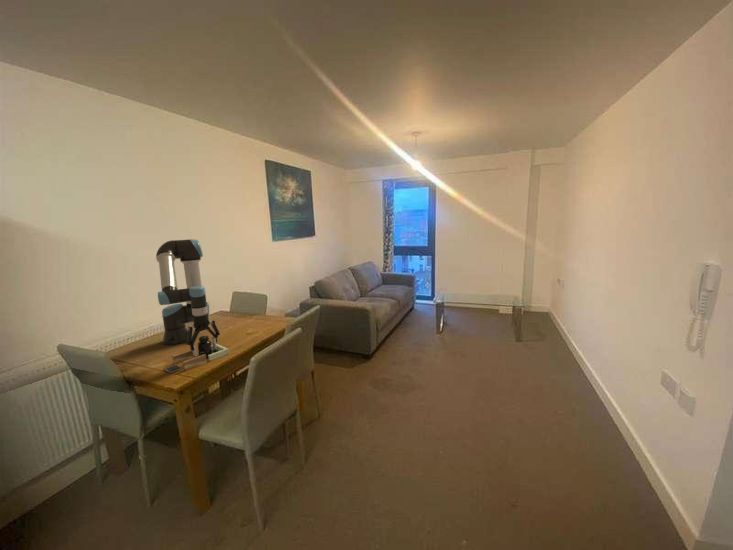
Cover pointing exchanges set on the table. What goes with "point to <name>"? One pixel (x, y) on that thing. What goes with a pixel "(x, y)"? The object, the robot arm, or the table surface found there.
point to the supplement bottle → (204, 346)
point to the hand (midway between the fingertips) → (205, 351)
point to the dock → (220, 353)
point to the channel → (189, 363)
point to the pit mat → (173, 369)
